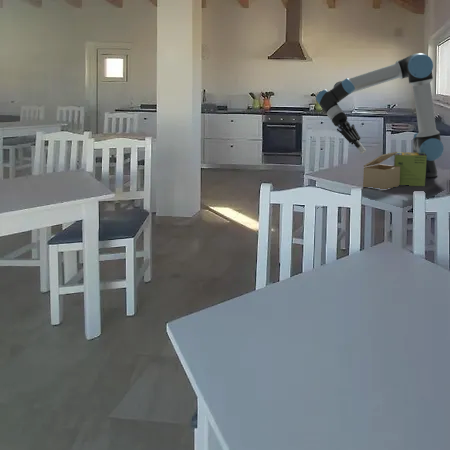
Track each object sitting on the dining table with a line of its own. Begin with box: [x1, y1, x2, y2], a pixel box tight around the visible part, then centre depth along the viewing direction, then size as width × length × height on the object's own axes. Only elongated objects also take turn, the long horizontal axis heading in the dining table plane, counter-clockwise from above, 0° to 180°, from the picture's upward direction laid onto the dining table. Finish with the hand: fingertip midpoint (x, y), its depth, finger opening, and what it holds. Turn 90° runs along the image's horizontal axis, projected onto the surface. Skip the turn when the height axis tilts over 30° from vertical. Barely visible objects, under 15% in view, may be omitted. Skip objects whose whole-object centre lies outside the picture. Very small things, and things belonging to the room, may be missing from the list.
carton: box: [362, 163, 400, 190], centre depth 320 cm, size 14×12×10 cm
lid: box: [363, 151, 399, 168], centre depth 318 cm, size 14×12×1 cm
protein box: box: [393, 151, 427, 187], centre depth 326 cm, size 10×15×16 cm
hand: (363, 151), depth 323 cm, fingers closed
